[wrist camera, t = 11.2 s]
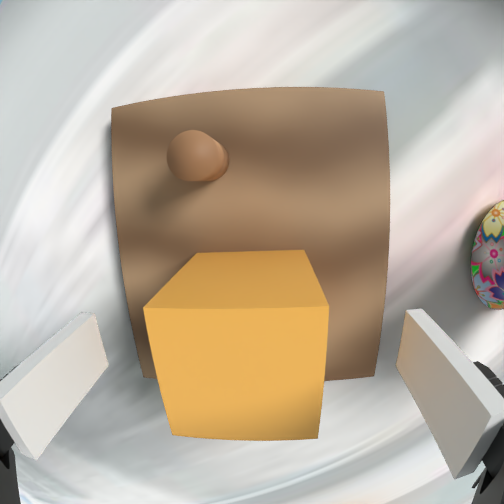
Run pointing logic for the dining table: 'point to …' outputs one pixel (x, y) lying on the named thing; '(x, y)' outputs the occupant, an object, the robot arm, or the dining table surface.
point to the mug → (490, 259)
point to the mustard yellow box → (241, 346)
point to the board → (260, 198)
